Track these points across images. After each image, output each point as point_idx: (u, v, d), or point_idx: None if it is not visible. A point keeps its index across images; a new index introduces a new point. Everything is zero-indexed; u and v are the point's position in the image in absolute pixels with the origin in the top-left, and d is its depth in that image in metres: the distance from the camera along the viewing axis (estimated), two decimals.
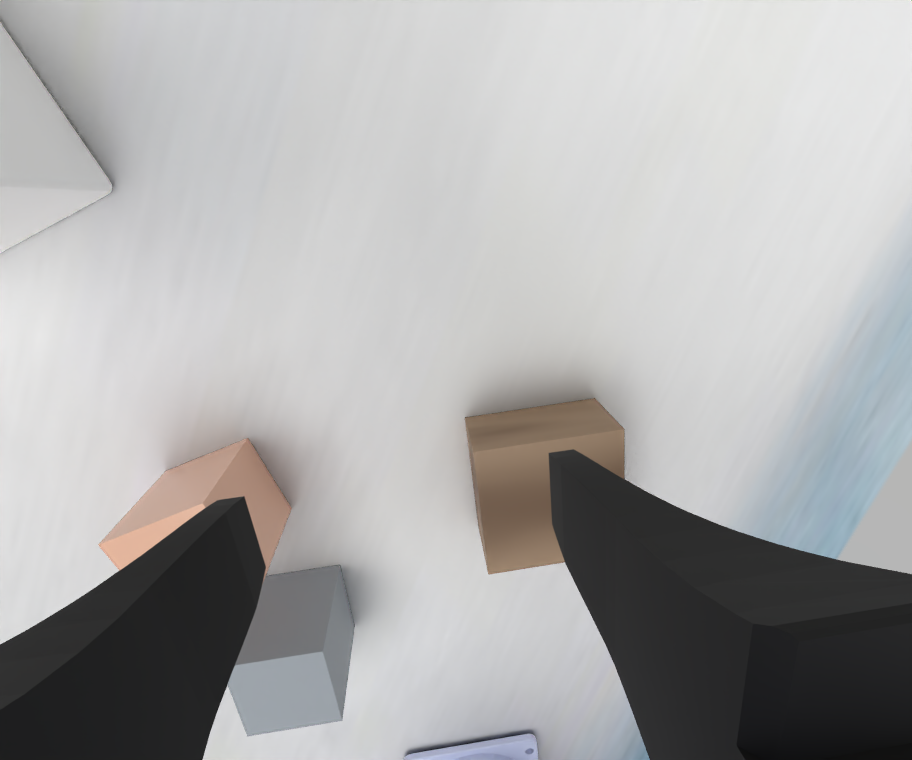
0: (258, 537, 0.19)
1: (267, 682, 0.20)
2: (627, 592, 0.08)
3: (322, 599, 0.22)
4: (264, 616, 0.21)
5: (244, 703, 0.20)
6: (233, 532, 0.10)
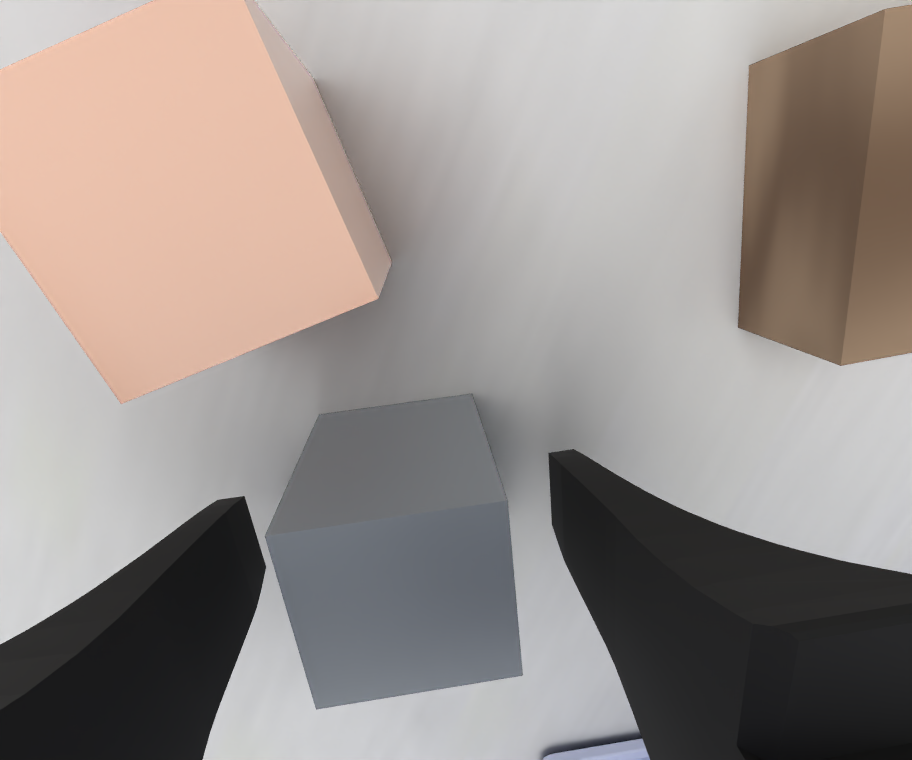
0: (356, 218, 0.08)
1: (371, 578, 0.08)
2: (627, 592, 0.08)
3: (461, 432, 0.11)
4: (346, 457, 0.10)
5: (315, 632, 0.09)
6: (233, 532, 0.10)
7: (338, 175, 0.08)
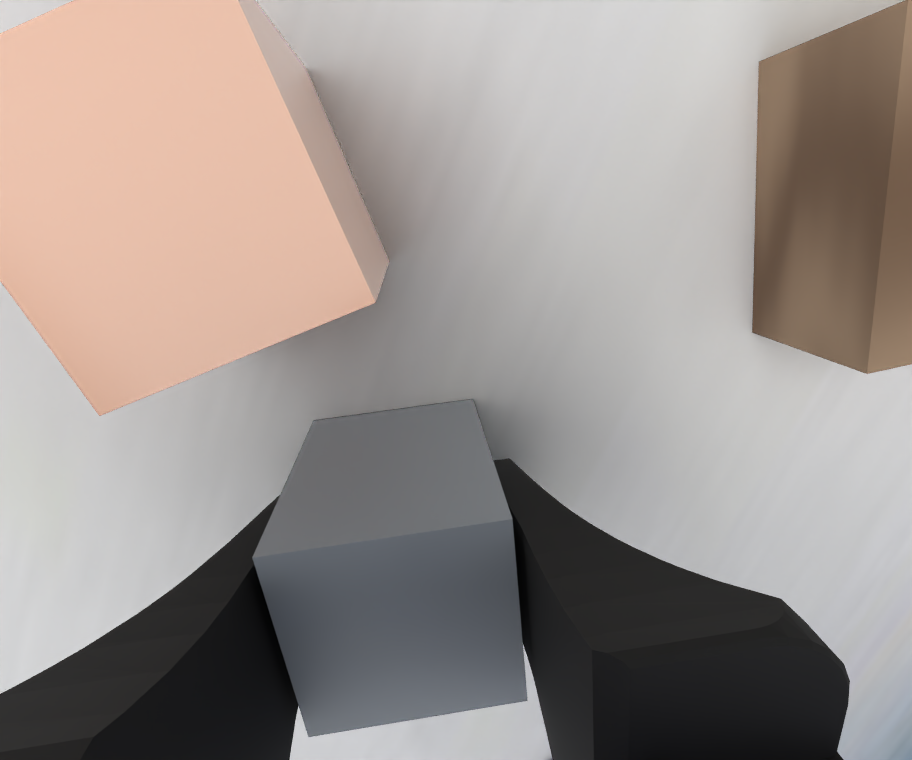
0: (351, 216, 0.07)
1: (366, 601, 0.08)
2: (533, 607, 0.08)
3: (462, 441, 0.10)
4: (341, 469, 0.10)
5: (306, 658, 0.08)
6: None
7: (332, 170, 0.07)
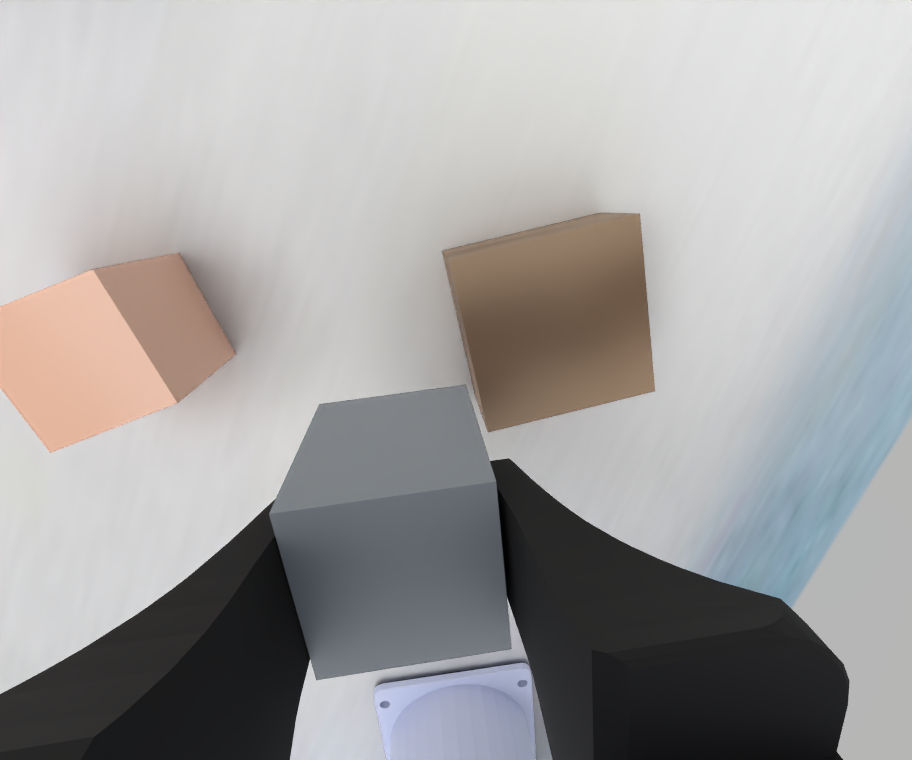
0: (180, 353, 0.15)
1: (368, 555, 0.09)
2: (533, 607, 0.08)
3: (454, 420, 0.11)
4: (345, 444, 0.11)
5: (315, 605, 0.09)
6: None
7: (171, 330, 0.15)
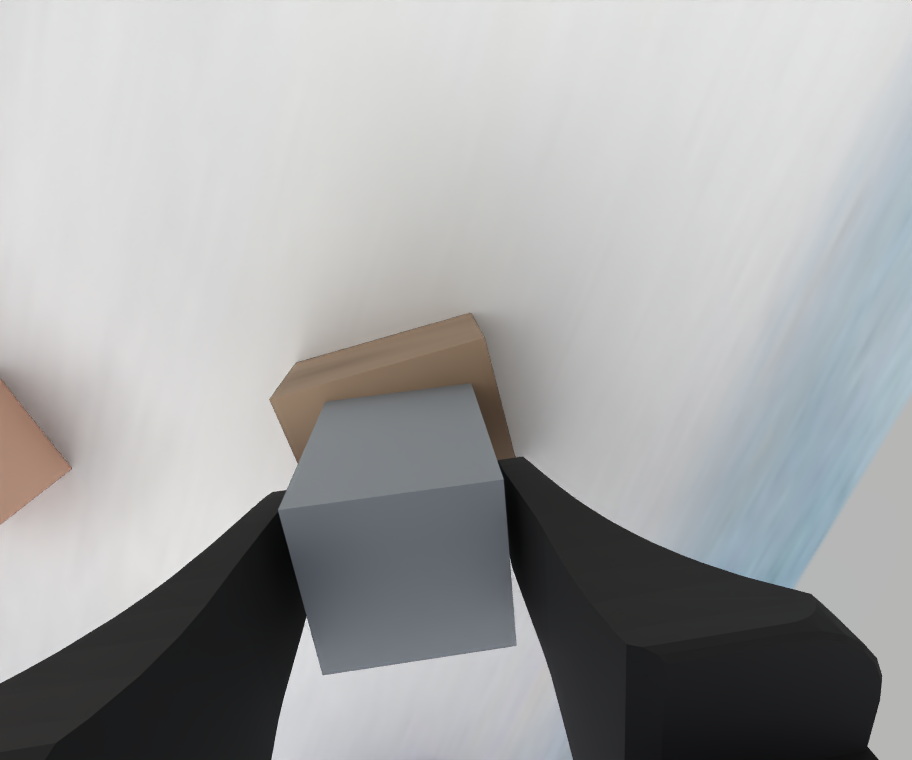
0: None
1: (376, 551, 0.09)
2: (553, 604, 0.08)
3: (461, 418, 0.11)
4: (352, 441, 0.11)
5: (322, 601, 0.09)
6: None
7: None
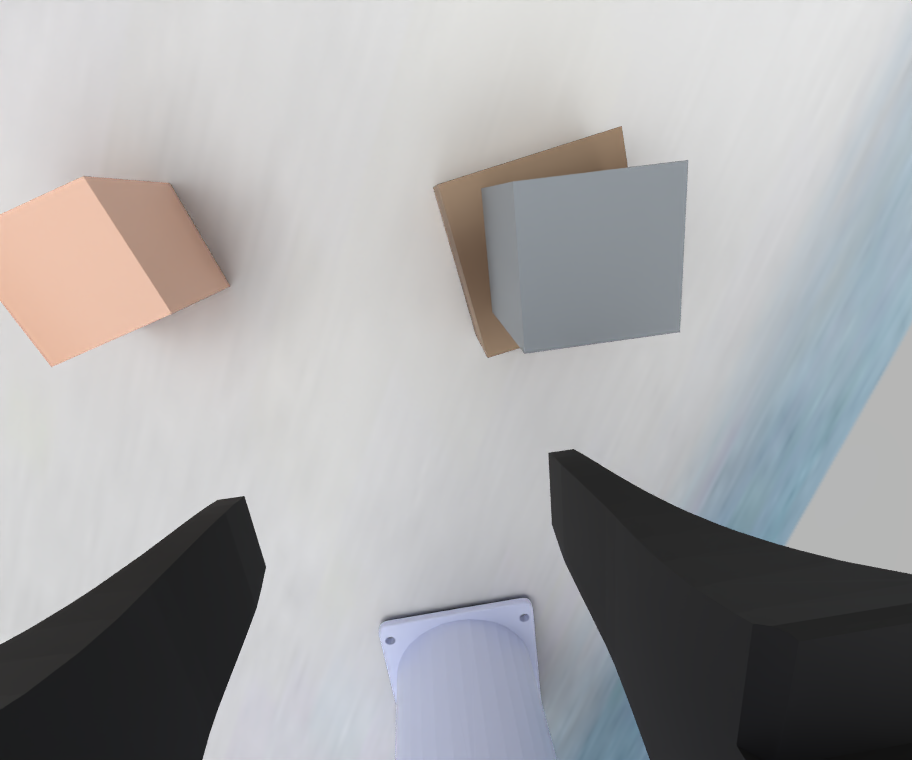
0: (173, 271, 0.15)
1: (582, 227, 0.11)
2: (627, 592, 0.08)
3: None
4: None
5: (534, 276, 0.11)
6: (233, 532, 0.10)
7: (163, 249, 0.15)
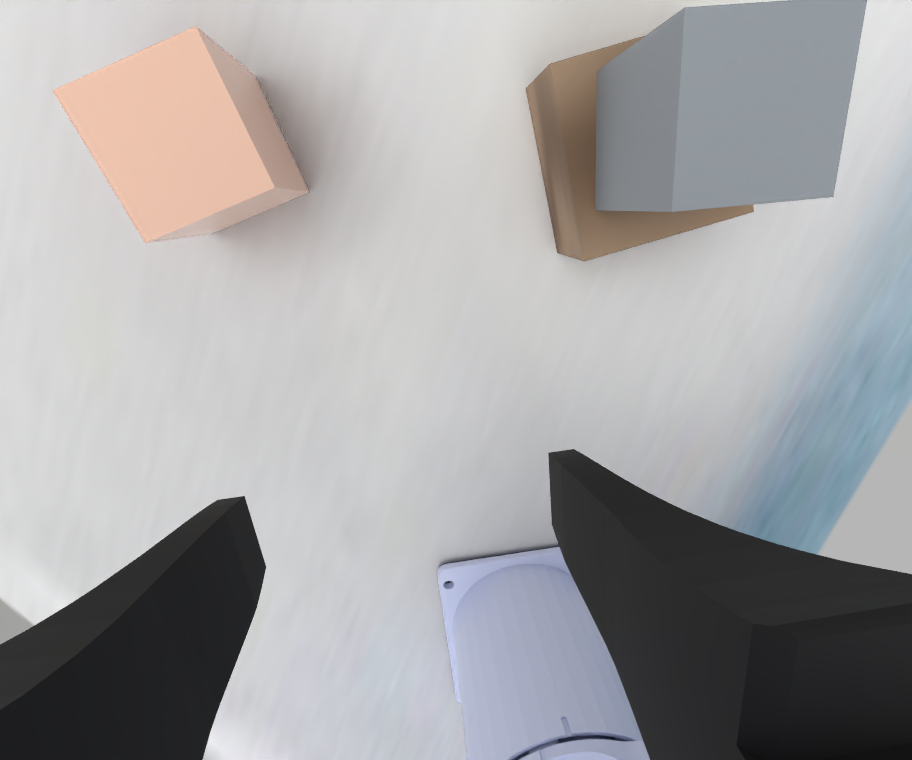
0: (270, 152, 0.14)
1: (749, 67, 0.10)
2: (627, 592, 0.08)
3: None
4: None
5: (693, 121, 0.11)
6: (233, 532, 0.10)
7: (260, 128, 0.14)
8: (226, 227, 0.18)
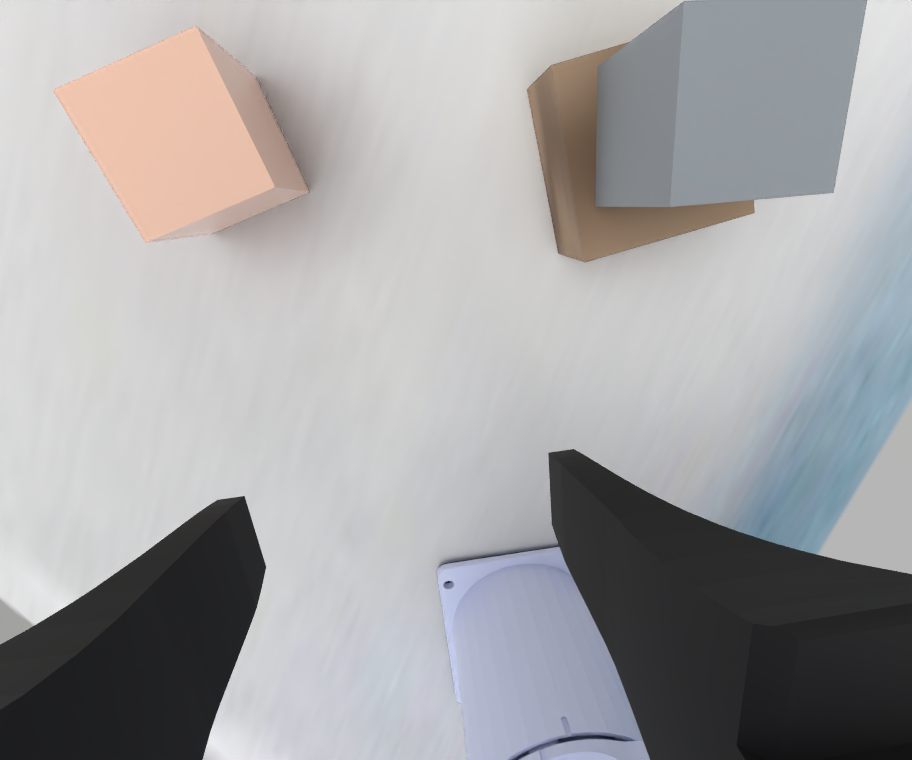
0: (270, 152, 0.14)
1: (748, 61, 0.10)
2: (627, 592, 0.08)
3: None
4: None
5: (692, 116, 0.11)
6: (233, 532, 0.10)
7: (260, 128, 0.14)
8: (226, 227, 0.18)
